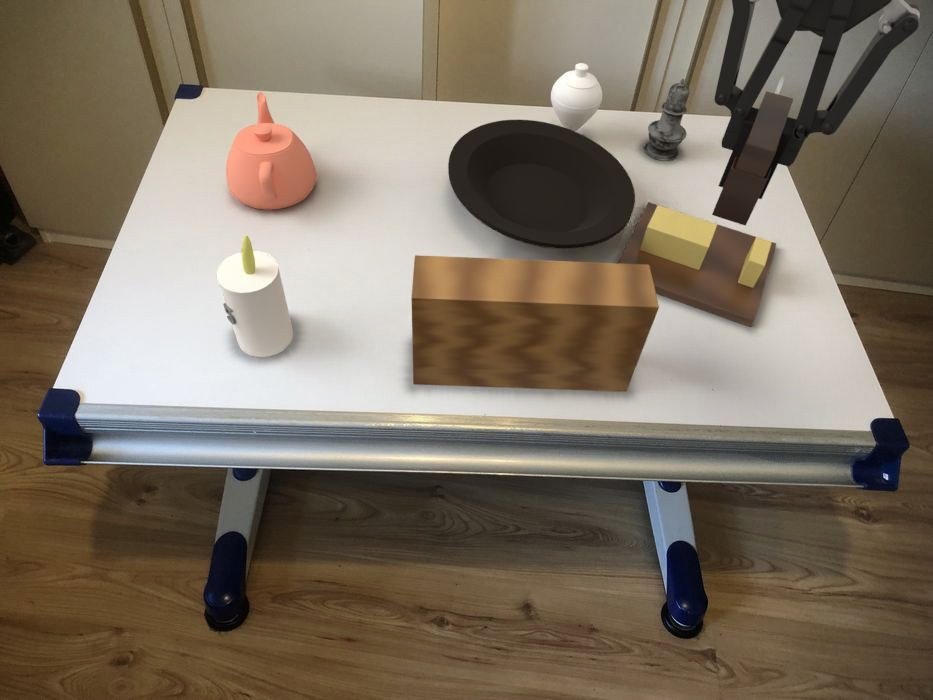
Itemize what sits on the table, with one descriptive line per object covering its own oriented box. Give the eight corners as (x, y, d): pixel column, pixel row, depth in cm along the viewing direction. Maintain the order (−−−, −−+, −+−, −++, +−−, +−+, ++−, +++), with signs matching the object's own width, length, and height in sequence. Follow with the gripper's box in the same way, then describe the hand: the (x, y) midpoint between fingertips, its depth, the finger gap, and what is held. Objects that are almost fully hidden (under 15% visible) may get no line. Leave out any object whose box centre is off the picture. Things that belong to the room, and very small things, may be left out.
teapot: (229, 228, 91) (212, 168, 84) (231, 149, 102) (216, 90, 95) (321, 220, 93) (312, 161, 86) (313, 143, 104) (305, 85, 97)
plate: (415, 176, 100) (415, 142, 96) (551, 136, 109) (557, 104, 104) (514, 300, 85) (519, 268, 81) (664, 244, 93) (675, 212, 89)
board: (750, 327, 84) (754, 320, 84) (611, 277, 89) (613, 271, 88) (773, 249, 94) (776, 243, 93) (646, 208, 98) (648, 201, 97)
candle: (225, 335, 80) (191, 237, 68) (272, 308, 83) (247, 209, 71) (256, 367, 77) (226, 270, 65) (304, 337, 80) (283, 240, 68)
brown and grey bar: (745, 226, 60) (779, 153, 54) (711, 215, 61) (742, 142, 55) (786, 105, 73) (817, 36, 67) (758, 97, 74) (786, 28, 68)
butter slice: (753, 288, 87) (765, 265, 84) (737, 283, 88) (748, 260, 85) (760, 264, 90) (772, 241, 87) (745, 259, 91) (756, 236, 87)
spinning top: (588, 124, 111) (603, 52, 102) (596, 152, 106) (613, 79, 97) (541, 123, 111) (552, 51, 101) (548, 152, 106) (560, 79, 97)
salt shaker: (678, 165, 105) (702, 93, 96) (640, 157, 106) (660, 85, 97) (681, 144, 109) (705, 72, 100) (644, 136, 110) (664, 65, 101)
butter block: (698, 270, 89) (708, 247, 86) (639, 250, 91) (647, 226, 88) (707, 247, 92) (717, 224, 89) (650, 228, 94) (657, 204, 91)
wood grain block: (413, 384, 76) (411, 297, 66) (416, 343, 80) (414, 254, 69) (626, 392, 77) (659, 307, 66) (619, 350, 81) (649, 264, 70)
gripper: (741, -123, 44) (648, 180, 62) (1006, -71, 40) (824, 236, 58) (763, -153, 48) (670, 139, 66) (1003, -109, 44) (835, 188, 63)
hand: (742, 184), depth 62 cm, fingers closed on brown and grey bar, 2 cm apart
